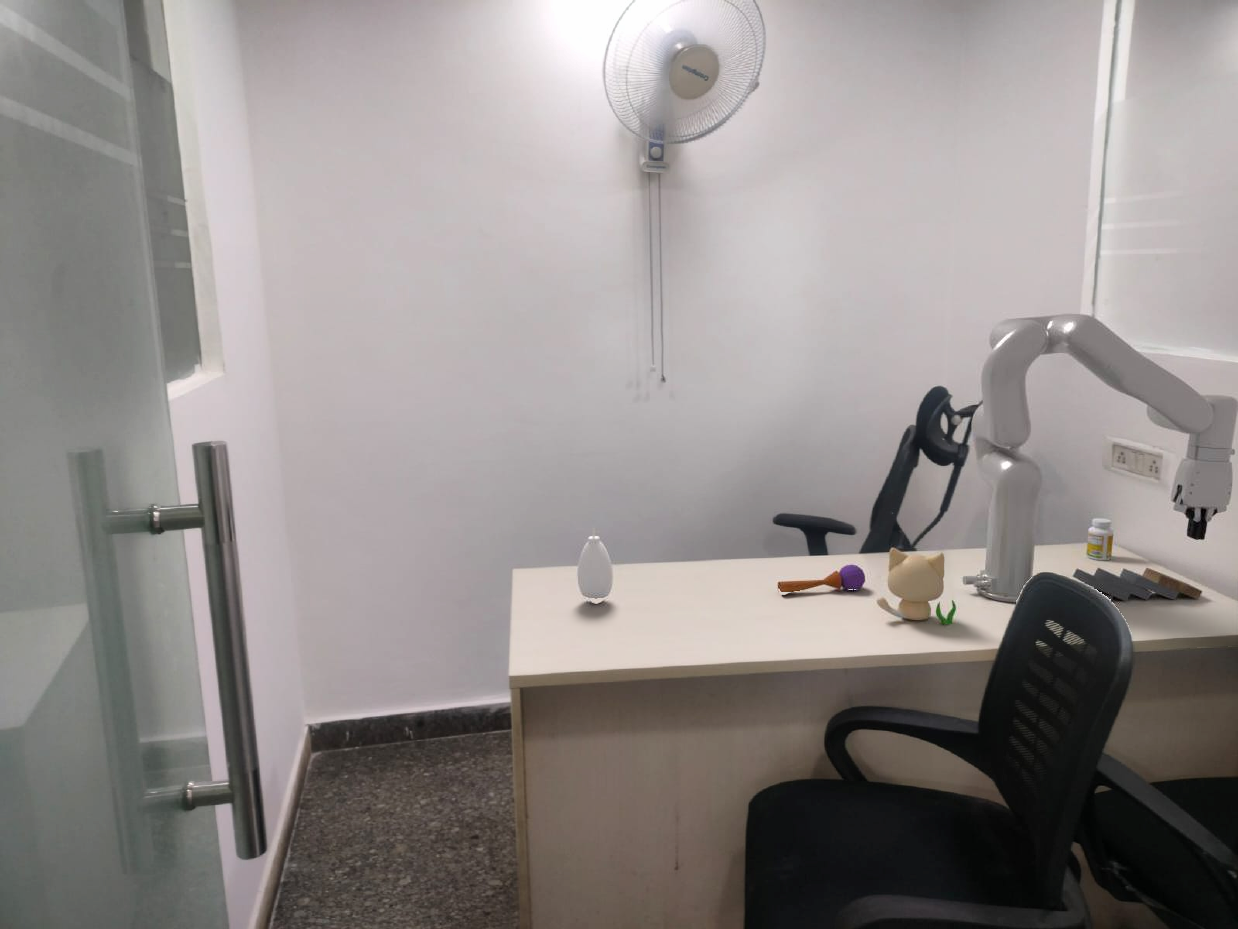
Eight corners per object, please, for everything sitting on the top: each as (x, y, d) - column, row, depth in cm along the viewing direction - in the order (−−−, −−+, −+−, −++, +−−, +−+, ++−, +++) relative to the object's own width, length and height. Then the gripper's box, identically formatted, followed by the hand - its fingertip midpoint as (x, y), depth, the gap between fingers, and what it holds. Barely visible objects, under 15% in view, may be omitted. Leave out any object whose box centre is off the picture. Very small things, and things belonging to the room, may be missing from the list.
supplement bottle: (1104, 554, 207) (1108, 517, 205) (1115, 561, 202) (1118, 523, 200) (1082, 554, 208) (1085, 517, 206) (1092, 561, 202) (1095, 523, 200)
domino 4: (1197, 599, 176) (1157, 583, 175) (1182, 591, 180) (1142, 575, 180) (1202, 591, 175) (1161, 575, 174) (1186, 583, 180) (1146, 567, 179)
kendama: (774, 574, 188) (856, 561, 191) (777, 599, 188) (860, 586, 191) (782, 577, 182) (867, 564, 185) (786, 604, 182) (870, 590, 185)
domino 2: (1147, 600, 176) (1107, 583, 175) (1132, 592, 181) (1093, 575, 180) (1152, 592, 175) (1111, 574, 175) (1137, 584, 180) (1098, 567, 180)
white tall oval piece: (585, 595, 189) (582, 520, 185) (617, 598, 187) (615, 521, 183) (574, 607, 181) (570, 529, 178) (607, 610, 179) (605, 531, 176)
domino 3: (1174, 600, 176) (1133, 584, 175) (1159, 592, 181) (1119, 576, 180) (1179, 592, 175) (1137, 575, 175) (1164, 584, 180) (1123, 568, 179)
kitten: (957, 614, 171) (960, 546, 168) (953, 632, 162) (957, 560, 160) (883, 605, 178) (885, 538, 175) (875, 621, 169) (877, 551, 166)
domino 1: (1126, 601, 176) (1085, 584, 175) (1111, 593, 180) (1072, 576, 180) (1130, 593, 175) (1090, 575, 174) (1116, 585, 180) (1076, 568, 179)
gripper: (1229, 451, 176) (1216, 533, 180) (1161, 450, 176) (1149, 533, 179) (1257, 457, 169) (1242, 543, 172) (1185, 457, 168) (1173, 543, 172)
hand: (1195, 537), depth 176 cm, fingers closed
